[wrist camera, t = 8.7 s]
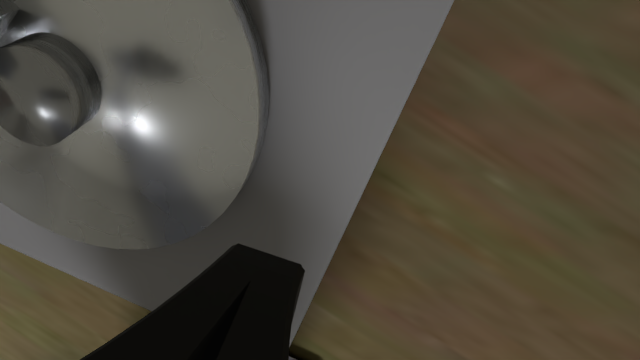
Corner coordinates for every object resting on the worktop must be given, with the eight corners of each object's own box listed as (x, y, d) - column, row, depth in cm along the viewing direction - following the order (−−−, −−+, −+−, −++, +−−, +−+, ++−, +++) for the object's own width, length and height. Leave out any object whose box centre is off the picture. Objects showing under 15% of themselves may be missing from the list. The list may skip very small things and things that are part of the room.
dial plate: (291, 336, 25) (278, 370, 23) (-106, 159, 26) (-145, 180, 24) (523, -157, 14) (528, -156, 12) (-203, -454, 14) (-288, -490, 13)
